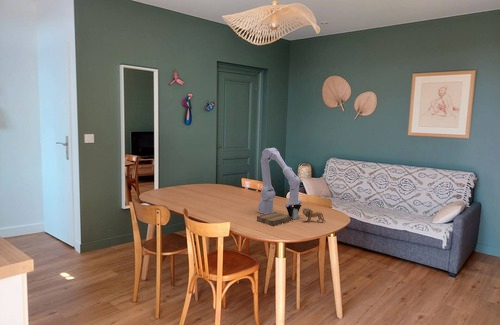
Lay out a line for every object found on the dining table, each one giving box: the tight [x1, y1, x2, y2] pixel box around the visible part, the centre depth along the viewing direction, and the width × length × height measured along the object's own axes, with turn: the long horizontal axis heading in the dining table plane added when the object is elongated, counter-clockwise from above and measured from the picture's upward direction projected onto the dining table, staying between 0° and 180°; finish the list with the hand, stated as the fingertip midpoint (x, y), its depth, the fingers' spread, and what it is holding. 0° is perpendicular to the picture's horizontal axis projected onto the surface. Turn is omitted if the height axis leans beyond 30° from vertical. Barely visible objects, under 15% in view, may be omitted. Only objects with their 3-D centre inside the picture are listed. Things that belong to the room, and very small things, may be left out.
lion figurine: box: [302, 207, 326, 224], centre depth 229 cm, size 15×5×9 cm, turn 90°
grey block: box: [291, 208, 299, 220], centre depth 236 cm, size 4×4×6 cm
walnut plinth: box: [256, 211, 292, 227], centre depth 228 cm, size 14×16×3 cm
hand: (293, 216), depth 237 cm, fingers open, 5 cm apart
